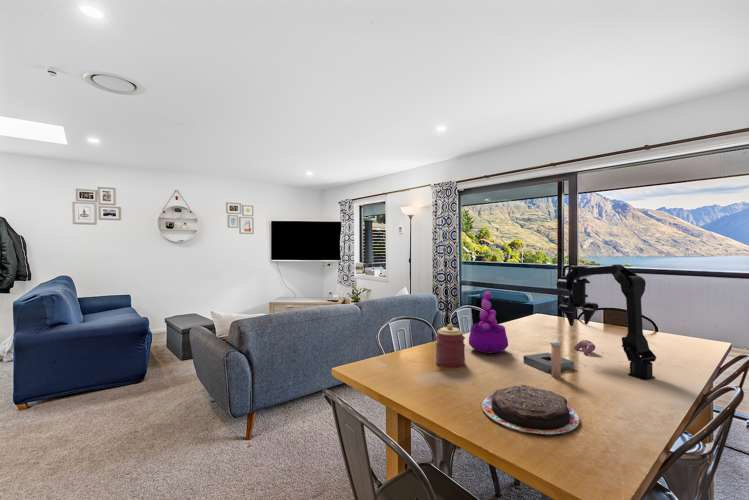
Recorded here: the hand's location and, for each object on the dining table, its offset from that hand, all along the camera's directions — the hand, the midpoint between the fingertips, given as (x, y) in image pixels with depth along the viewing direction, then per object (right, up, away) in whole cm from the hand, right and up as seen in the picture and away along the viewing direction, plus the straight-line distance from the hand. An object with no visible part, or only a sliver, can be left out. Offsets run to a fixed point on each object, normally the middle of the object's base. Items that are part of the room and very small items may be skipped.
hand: (578, 325), depth 166 cm
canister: (-63, -16, -8) cm, 65 cm away
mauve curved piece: (+7, -15, +6) cm, 17 cm away
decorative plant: (-40, -15, +9) cm, 44 cm away
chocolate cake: (-48, -16, -56) cm, 76 cm away
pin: (-24, -15, -26) cm, 39 cm away
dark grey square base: (-21, -15, -13) cm, 29 cm away
